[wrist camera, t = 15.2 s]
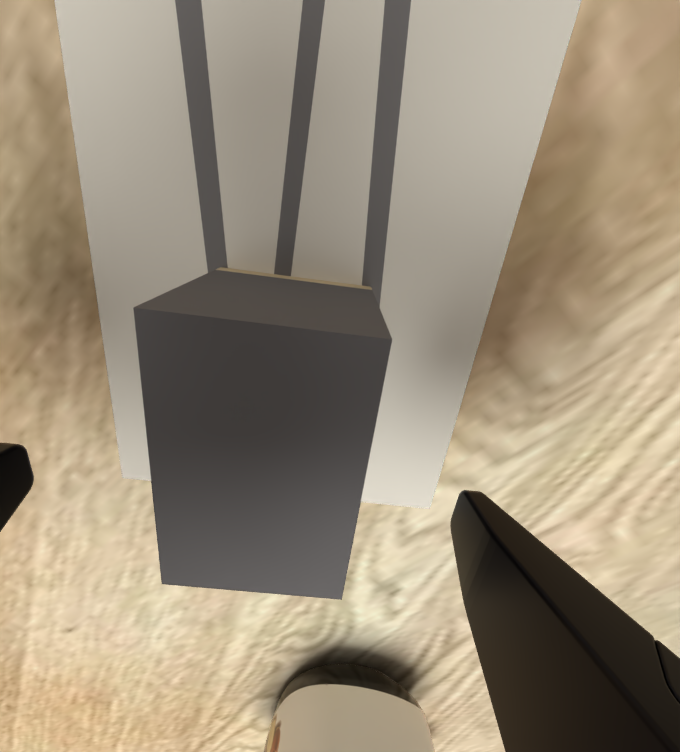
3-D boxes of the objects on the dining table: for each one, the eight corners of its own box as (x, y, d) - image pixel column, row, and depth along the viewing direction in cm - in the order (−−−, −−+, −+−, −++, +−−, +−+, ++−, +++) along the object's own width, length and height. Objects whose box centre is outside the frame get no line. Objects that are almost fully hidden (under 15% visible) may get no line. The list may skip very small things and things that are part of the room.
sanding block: (370, 286, 11) (392, 339, 7) (341, 472, 14) (341, 599, 9) (220, 267, 11) (133, 307, 6) (221, 460, 14) (162, 584, 9)
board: (634, -263, 8) (683, -343, 7) (423, 488, 16) (429, 509, 15) (38, -391, 7) (-17, -503, 6) (138, 458, 15) (122, 478, 14)
